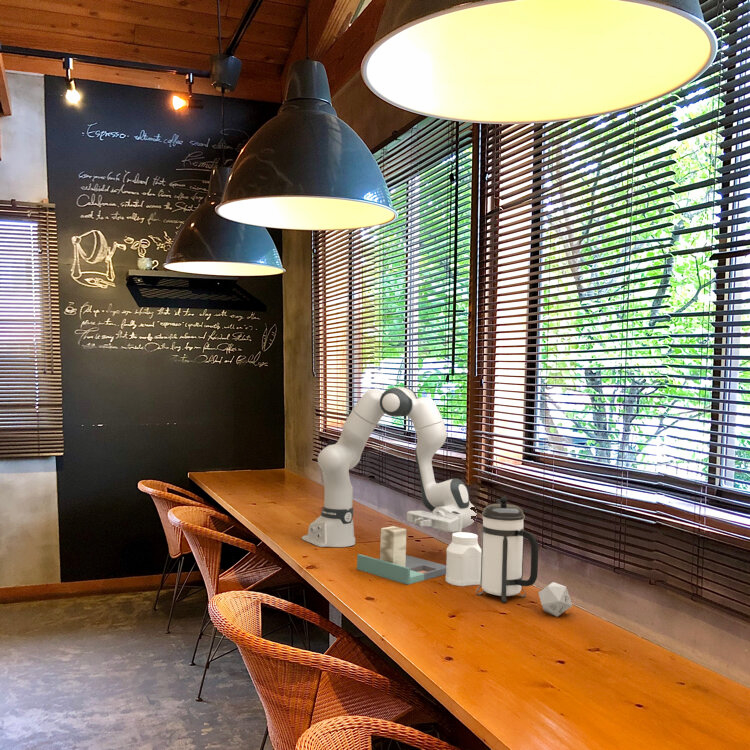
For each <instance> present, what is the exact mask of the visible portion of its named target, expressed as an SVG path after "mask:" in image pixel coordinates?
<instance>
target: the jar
mask: <svg viewBox="0 0 750 750" xmlns="http://www.w3.org/2000/svg"><path fill="white" fill-rule="evenodd" d="M478 537H479V535H478V534H476V533H472V532H463V531H461V532H452V534H451V538H452V539H451V542H450V544H449V545H448V546H447V548H446V552H445V553H446V564H445V565H446V574H445V582H446V583H448V584H449V585H453V586H457V587H458V586H459V587H466V586H480V578H481V576H482V575H481V546H480V544H479V543H478V540H479V539H478Z"/></svg>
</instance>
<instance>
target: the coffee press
mask: <svg viewBox="0 0 750 750" xmlns="http://www.w3.org/2000/svg"><path fill="white" fill-rule="evenodd" d="M499 501H500V502H499V503H492V504H489V505H486V507H484V508H483V511H482V512H481V515H482V524H481V546H480V548H481V578H480V585H478V586H479V587H477V589H476V590H475V592H476V595H477V596H481V595H483V593H487V594H491V595H494V596H499V597H500V601H501V604H503V603H504V604H505V603H507V597H511V596H515V595H517V594H518V595H519V596H521V598H526V596H527V594H526V592H525V590H524V589H523V587H530V586H532V585H534V584H535V583H536V581H537V579H538V570H539V569H538V568H539V566H538V565H539V544H538V542H537V538H536V537H535V535H534V534H532V533H531V532H529V531H527V530H525V527H524V520H525V519H526V515H525V514H524V511H523V509H522V508H520V506H517V505H514V504H509V503H507V502H508V501H509V499H508V498H507V497H506V496H501V497H500V499H499ZM524 538H526V539H527V540H528V541H529V543H530V549H531V550H530V551H531V552H530V576H529V578H528V579H527V580H526V579H523V577H524V574H523V573H524V546H525V545H524V541H525V539H524ZM481 588H482V590H481V592H479V590H480V589H481ZM521 590H522V591H523V593H524V595H523V594H521ZM478 592H479V593H478Z"/></svg>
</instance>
